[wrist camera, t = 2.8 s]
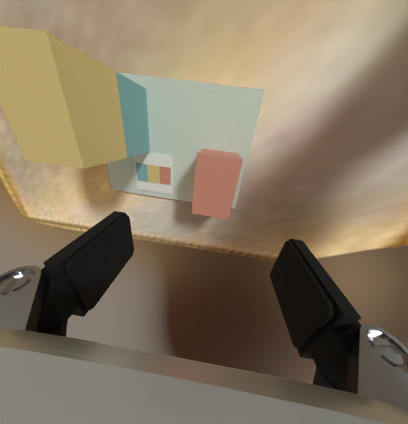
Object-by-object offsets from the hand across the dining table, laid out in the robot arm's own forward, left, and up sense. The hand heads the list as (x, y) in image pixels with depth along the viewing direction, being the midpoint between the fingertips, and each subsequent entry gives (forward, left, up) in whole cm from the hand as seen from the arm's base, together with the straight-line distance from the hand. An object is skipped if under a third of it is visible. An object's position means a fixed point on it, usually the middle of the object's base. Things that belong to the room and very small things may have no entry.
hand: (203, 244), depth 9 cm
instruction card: (+1, -10, -16) cm, 19 cm away
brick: (0, 0, -16) cm, 16 cm away
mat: (-3, -7, -16) cm, 18 cm away
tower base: (-6, -13, -16) cm, 21 cm away
